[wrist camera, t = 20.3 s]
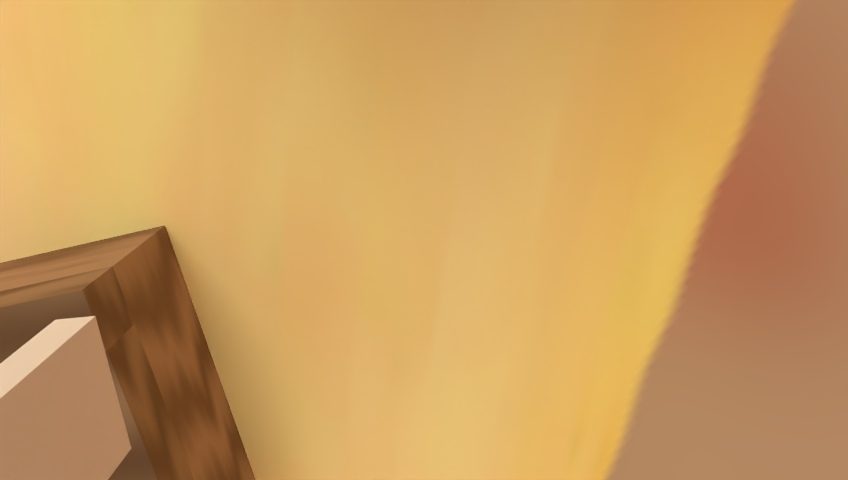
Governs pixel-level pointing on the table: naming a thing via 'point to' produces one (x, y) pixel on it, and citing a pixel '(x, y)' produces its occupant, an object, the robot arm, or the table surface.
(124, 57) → the table surface
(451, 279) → the table surface
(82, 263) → the brown square bin
